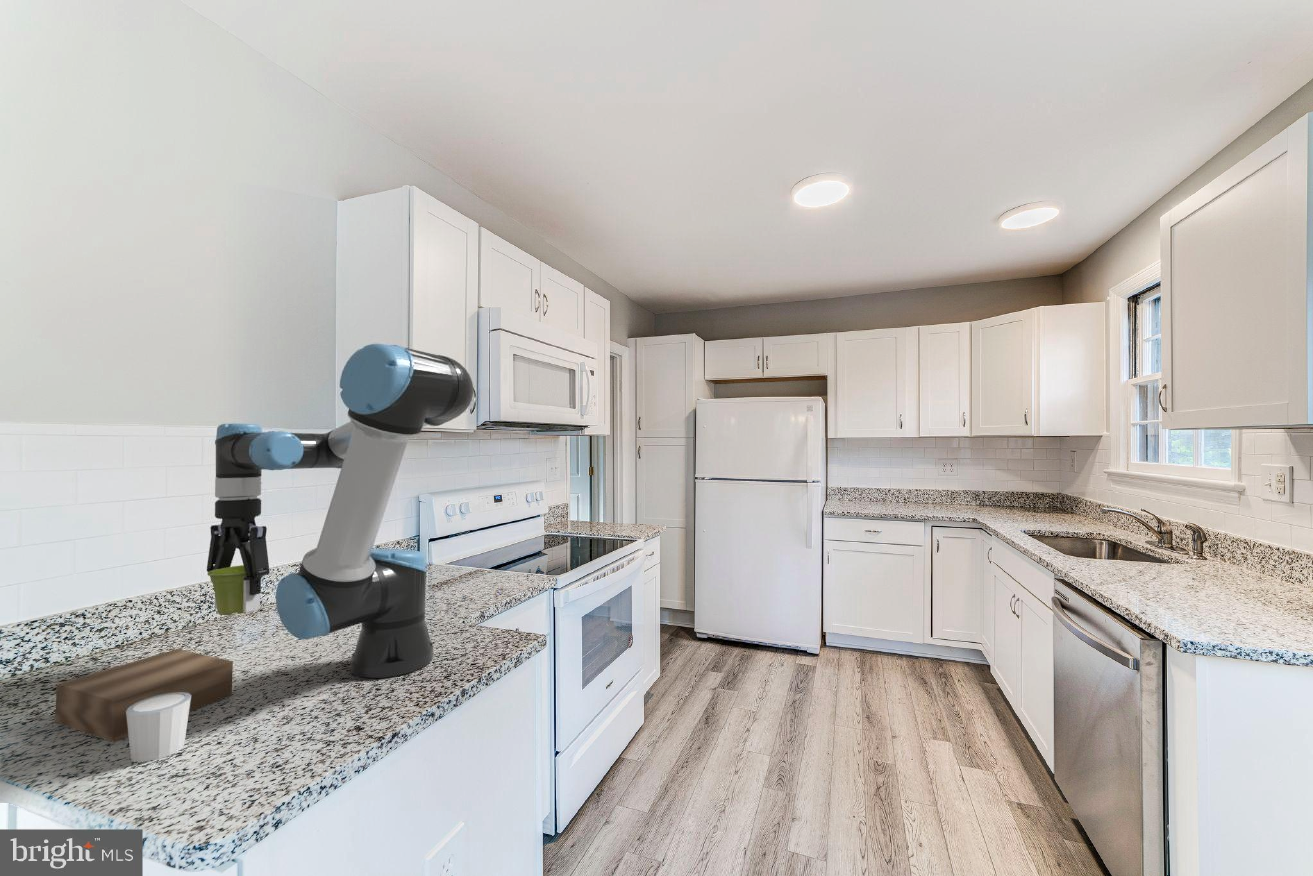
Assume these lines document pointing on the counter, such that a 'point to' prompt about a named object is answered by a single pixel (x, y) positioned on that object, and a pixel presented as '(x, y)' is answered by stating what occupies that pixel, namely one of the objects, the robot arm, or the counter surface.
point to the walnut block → (139, 690)
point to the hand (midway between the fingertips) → (237, 608)
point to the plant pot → (228, 589)
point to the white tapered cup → (158, 726)
